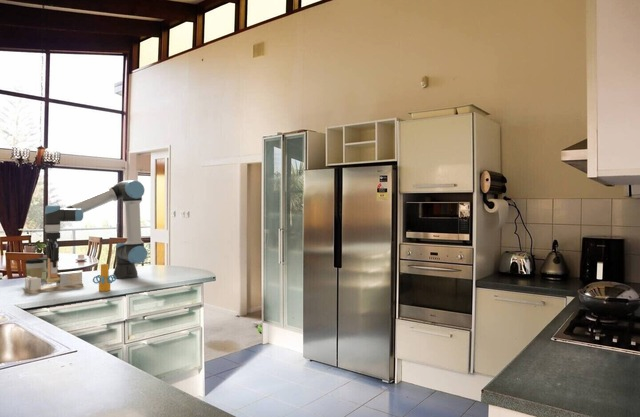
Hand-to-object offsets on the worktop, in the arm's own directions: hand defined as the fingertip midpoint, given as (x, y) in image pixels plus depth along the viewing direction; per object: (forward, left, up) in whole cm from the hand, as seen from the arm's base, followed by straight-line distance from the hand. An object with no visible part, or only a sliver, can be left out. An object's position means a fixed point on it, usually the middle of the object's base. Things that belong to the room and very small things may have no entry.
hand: (52, 272), depth 254 cm
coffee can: (+24, -32, -10) cm, 41 cm away
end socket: (+6, +8, -8) cm, 13 cm away
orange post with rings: (-31, +1, -10) cm, 32 cm away
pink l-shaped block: (-3, -4, -6) cm, 8 cm away
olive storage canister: (+21, -15, -10) cm, 28 cm away
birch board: (0, 0, -10) cm, 10 cm away
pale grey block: (-5, -7, -8) cm, 12 cm away
